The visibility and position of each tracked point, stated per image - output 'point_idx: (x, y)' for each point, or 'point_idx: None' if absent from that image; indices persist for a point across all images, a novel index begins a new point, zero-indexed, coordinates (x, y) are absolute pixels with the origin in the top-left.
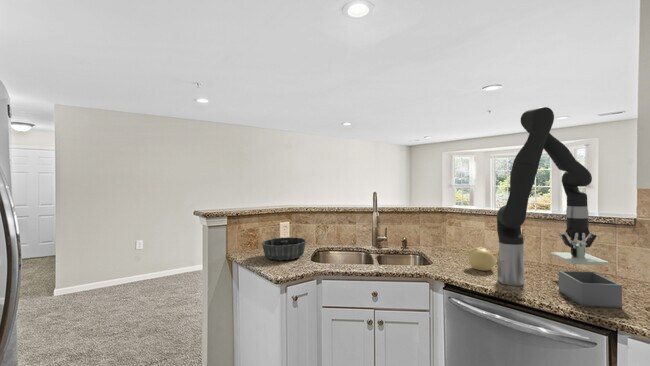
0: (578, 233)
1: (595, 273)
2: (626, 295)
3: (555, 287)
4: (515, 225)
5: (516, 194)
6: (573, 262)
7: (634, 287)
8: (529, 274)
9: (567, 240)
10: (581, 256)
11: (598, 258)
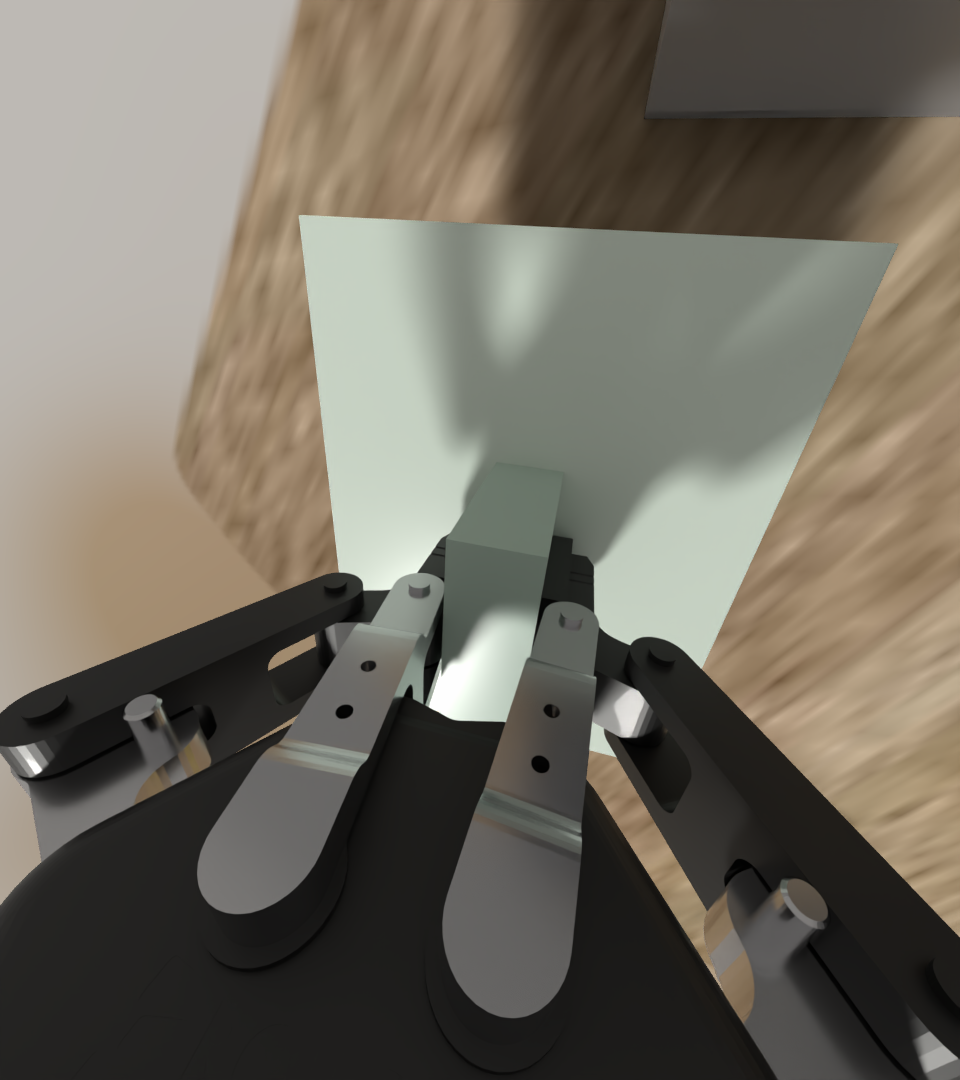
0: (395, 937)
1: None
2: (403, 63)
3: (923, 263)
4: None
5: None
6: (836, 245)
7: (256, 332)
8: (803, 635)
9: (740, 771)
10: (532, 475)
11: (336, 455)
